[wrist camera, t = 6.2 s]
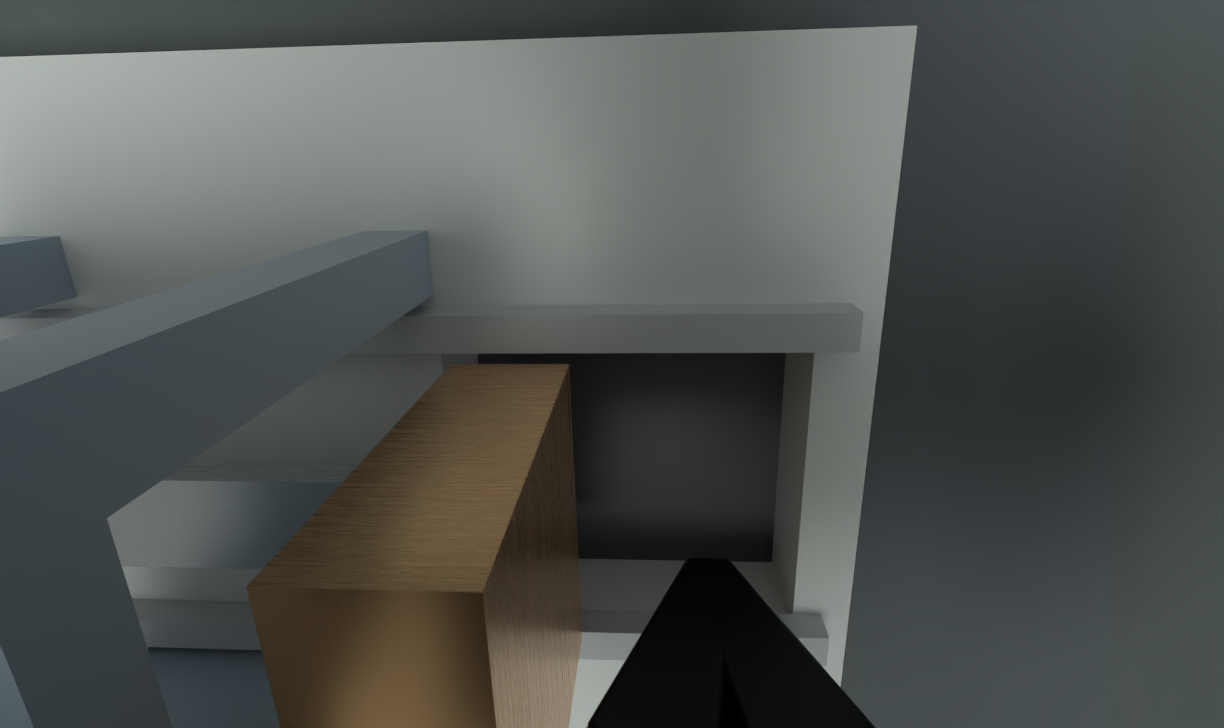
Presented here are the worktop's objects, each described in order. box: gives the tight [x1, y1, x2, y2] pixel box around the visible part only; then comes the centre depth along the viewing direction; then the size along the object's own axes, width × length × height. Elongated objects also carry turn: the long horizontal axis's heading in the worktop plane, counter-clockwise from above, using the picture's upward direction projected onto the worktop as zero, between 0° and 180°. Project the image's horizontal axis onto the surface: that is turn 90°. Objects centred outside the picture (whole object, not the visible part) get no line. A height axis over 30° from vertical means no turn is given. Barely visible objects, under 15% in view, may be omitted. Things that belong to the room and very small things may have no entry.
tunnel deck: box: [0, 26, 917, 728], centre depth 9 cm, size 25×14×10 cm, turn 91°
